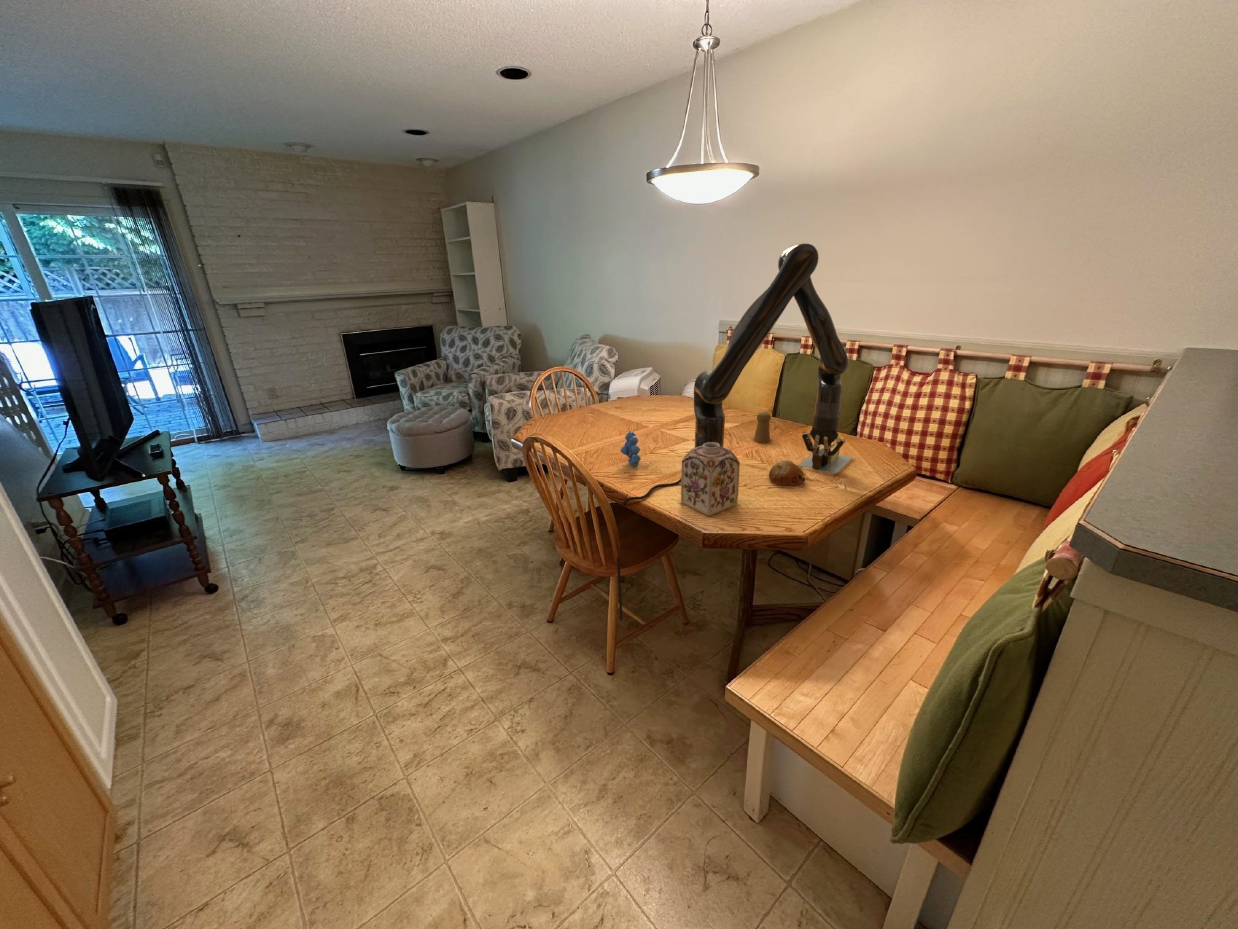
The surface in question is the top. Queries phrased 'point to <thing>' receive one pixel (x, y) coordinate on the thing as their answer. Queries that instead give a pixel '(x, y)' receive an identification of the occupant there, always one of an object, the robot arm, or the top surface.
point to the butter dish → (830, 467)
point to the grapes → (631, 449)
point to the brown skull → (786, 474)
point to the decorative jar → (710, 478)
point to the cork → (762, 428)
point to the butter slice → (832, 458)
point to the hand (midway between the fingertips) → (819, 464)
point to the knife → (819, 458)
